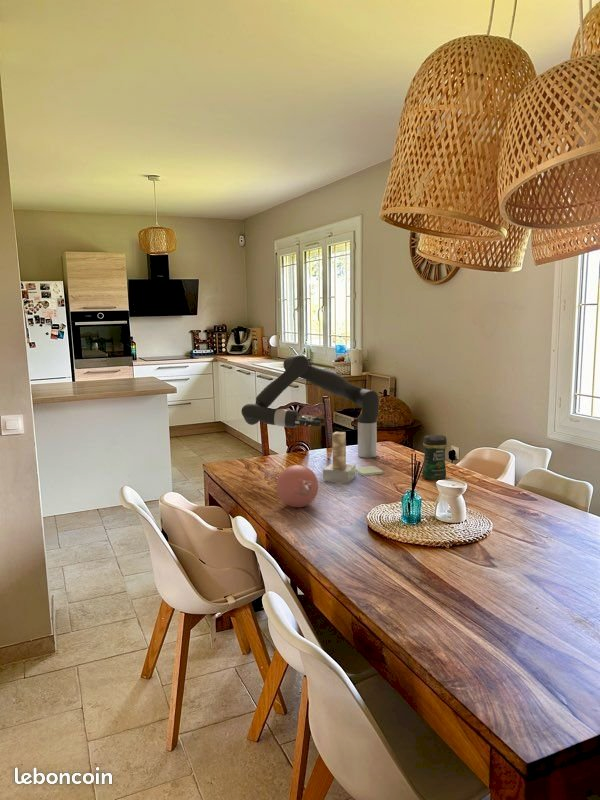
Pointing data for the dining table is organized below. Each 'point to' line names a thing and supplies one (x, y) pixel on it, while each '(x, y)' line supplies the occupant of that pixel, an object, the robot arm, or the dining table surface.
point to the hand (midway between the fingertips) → (322, 422)
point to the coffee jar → (434, 457)
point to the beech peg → (339, 450)
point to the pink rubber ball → (297, 486)
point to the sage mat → (369, 470)
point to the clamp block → (339, 474)
